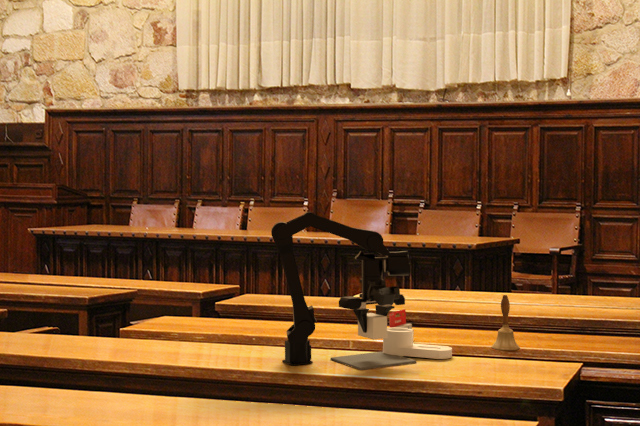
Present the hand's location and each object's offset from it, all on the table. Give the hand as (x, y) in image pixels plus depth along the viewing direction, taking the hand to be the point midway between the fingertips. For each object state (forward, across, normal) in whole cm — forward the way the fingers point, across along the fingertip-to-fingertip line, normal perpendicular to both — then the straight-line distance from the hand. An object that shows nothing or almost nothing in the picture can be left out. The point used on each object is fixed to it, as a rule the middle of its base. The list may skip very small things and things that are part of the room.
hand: (372, 331), depth 226 cm
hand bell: (+8, +45, -4) cm, 46 cm away
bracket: (+8, +15, 0) cm, 17 cm away
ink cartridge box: (+8, +24, +21) cm, 33 cm away
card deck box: (+1, 0, 0) cm, 1 cm away
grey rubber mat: (+8, 0, 0) cm, 8 cm away
